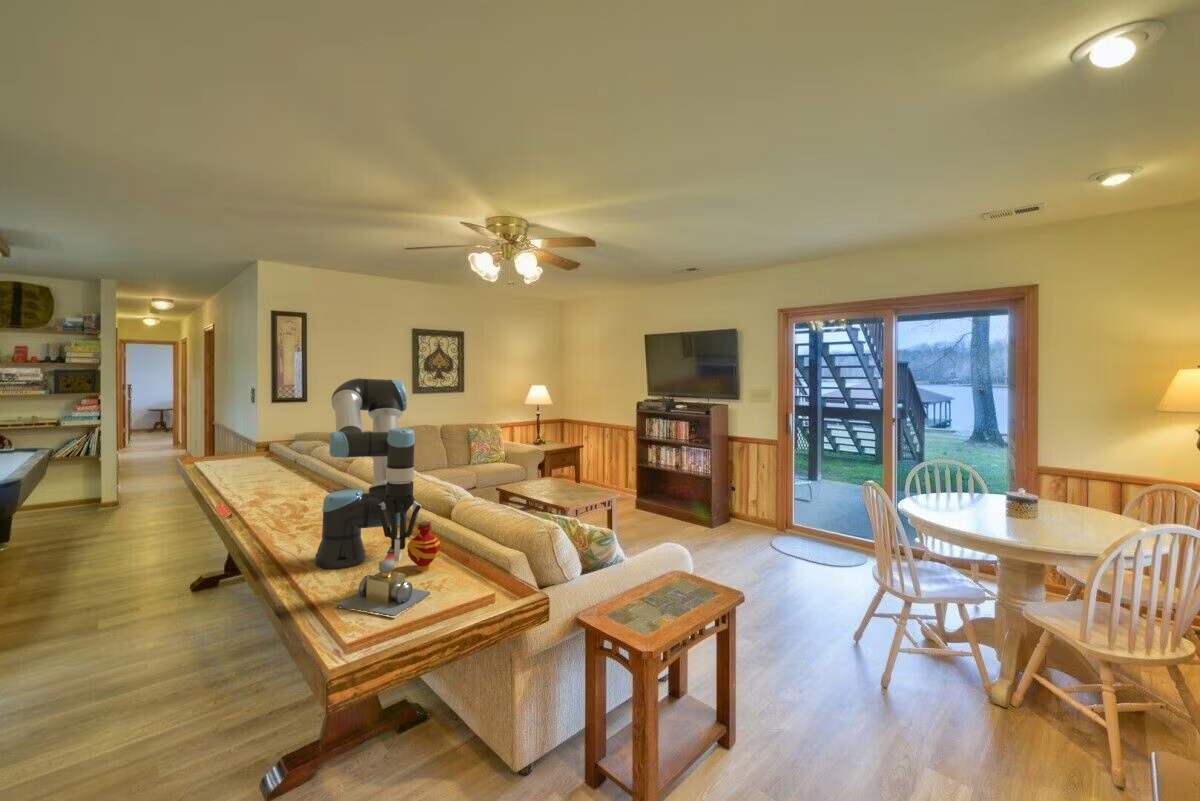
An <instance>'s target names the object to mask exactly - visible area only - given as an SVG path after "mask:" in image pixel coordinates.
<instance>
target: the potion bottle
mask: <svg viewBox="0 0 1200 801" xmlns="http://www.w3.org/2000/svg"><path fill="white" fill-rule="evenodd" d="M417 524H418V527H417V530H418V531H419V532H418V533H417V535H416V536H414V537H412V538H411V540H409V542H408V544H407V546H406V548H407V554H408V557H409V559H410V560H411V562H412V563H414V564H415V567H414V570H416V571H419V572H420V571H421V572H424V571H428V570H430V569H431V568H432V566H431V563H432V562H433V561H434V560H435V559H437V557H439V555H440V552H441V551H440V544H441V542H440V541H441V540H439V539H438V538H437V536H435V535H434V534H430V530H432V528H433V527H432V522H431V521H427V520H424V521H419V522H418V523H417Z"/></svg>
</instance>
